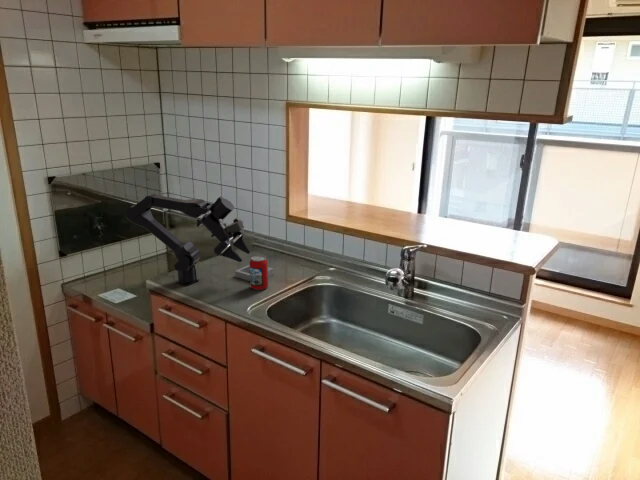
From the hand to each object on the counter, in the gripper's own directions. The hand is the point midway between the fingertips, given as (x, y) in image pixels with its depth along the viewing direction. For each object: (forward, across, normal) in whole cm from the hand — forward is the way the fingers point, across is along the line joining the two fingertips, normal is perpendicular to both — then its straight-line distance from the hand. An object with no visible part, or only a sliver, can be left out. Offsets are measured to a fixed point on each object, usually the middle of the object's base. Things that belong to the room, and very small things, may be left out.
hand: (245, 257), depth 188 cm
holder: (+8, +11, +9) cm, 17 cm away
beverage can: (+12, 0, +5) cm, 13 cm away
